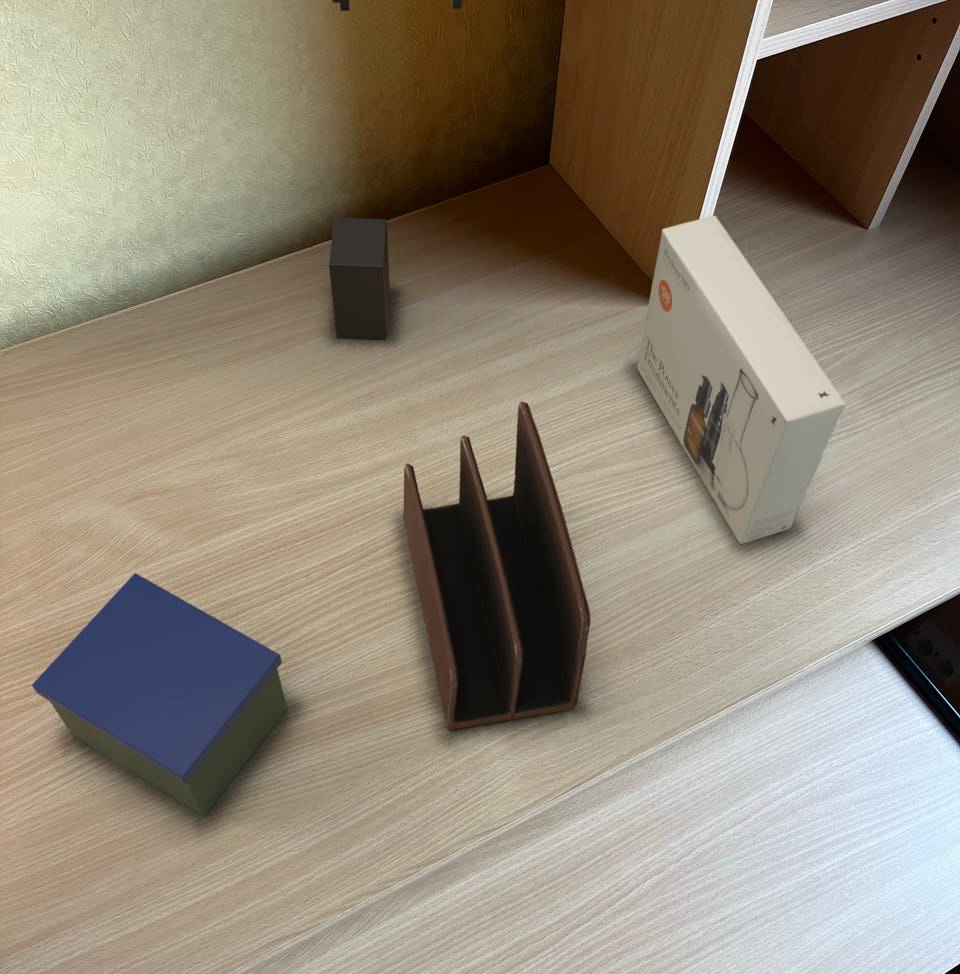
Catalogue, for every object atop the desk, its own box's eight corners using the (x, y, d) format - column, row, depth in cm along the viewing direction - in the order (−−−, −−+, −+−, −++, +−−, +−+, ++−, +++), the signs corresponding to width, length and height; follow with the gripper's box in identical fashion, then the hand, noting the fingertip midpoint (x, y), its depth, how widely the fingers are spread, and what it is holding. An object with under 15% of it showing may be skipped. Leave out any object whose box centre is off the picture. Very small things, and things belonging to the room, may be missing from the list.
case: (336, 338, 101) (328, 264, 93) (341, 292, 104) (334, 217, 96) (386, 340, 101) (382, 266, 93) (390, 293, 104) (386, 219, 96)
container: (66, 737, 80) (30, 685, 73) (159, 630, 84) (134, 572, 77) (205, 823, 77) (182, 777, 70) (293, 708, 82) (280, 654, 74)
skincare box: (628, 369, 100) (659, 225, 86) (682, 355, 101) (721, 211, 87) (734, 549, 90) (788, 419, 77) (792, 531, 91) (855, 400, 78)
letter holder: (519, 502, 92) (533, 384, 80) (577, 710, 82) (602, 613, 70) (402, 519, 91) (397, 401, 78) (446, 733, 81) (449, 637, 69)
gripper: (499, -276, 72) (487, -25, 86) (282, -278, 71) (305, -22, 85) (512, -222, 69) (497, 31, 83) (283, -223, 67) (307, 34, 82)
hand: (400, 4), depth 84 cm, fingers open, 8 cm apart
